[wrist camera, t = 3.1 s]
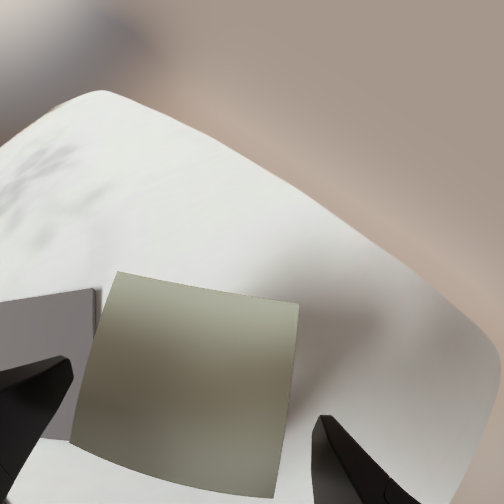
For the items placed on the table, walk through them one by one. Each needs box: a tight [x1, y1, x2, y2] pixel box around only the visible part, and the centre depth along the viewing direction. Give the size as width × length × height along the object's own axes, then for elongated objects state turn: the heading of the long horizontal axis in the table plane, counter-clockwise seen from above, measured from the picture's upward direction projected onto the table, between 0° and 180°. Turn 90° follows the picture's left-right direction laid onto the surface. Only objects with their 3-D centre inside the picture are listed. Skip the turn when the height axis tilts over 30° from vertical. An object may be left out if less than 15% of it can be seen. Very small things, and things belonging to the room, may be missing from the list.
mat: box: [0, 288, 96, 441], centre depth 15 cm, size 11×11×1 cm
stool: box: [69, 271, 299, 498], centre depth 11 cm, size 6×6×10 cm
